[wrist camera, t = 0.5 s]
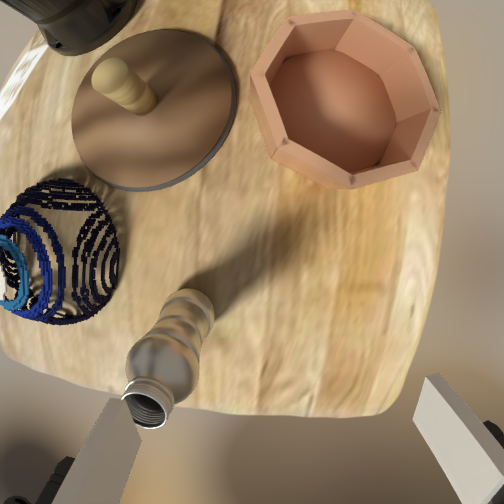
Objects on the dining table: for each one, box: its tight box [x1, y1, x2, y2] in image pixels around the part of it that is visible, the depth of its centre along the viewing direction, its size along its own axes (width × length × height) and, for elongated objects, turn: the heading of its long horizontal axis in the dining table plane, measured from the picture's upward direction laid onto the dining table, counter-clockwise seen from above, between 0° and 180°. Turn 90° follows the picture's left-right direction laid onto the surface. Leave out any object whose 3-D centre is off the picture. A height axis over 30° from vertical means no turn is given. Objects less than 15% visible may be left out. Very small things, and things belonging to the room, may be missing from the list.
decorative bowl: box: [0, 178, 120, 326], centre depth 29 cm, size 20×20×14 cm
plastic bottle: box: [121, 288, 215, 429], centre depth 28 cm, size 6×7×20 cm
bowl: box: [250, 10, 441, 189], centre depth 28 cm, size 18×18×9 cm
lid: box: [72, 30, 232, 188], centre depth 26 cm, size 21×21×11 cm
